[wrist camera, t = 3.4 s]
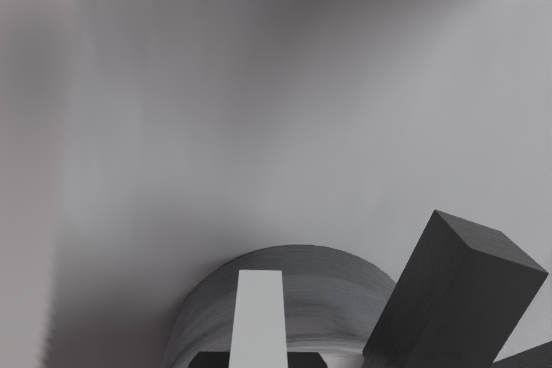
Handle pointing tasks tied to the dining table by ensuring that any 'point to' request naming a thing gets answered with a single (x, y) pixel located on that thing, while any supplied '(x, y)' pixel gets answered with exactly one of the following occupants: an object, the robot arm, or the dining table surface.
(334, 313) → the pot
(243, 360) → the robot arm
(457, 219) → the lid
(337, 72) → the dining table surface
